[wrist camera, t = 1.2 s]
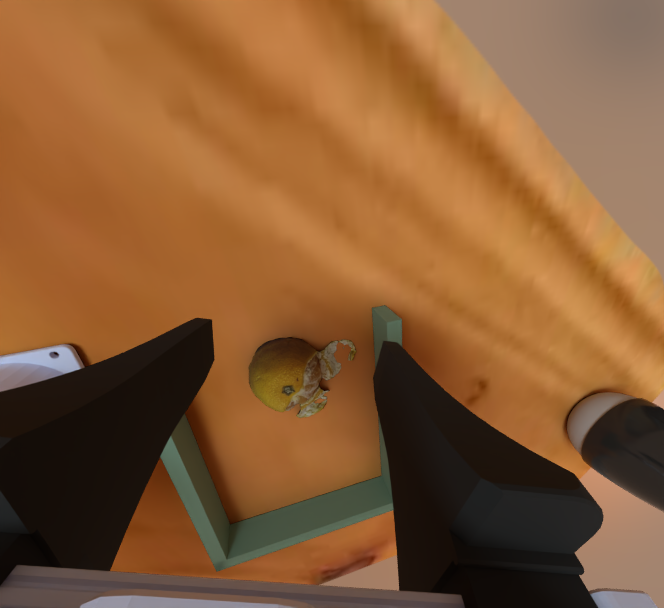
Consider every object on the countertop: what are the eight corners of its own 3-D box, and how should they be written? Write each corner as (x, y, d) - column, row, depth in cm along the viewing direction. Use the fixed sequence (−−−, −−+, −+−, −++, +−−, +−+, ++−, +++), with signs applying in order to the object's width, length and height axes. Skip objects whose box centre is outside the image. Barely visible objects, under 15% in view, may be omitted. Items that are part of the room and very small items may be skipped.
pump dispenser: (591, 368, 33) (826, 488, 19) (628, 392, 37) (846, 507, 23) (537, 431, 35) (715, 581, 21) (577, 448, 39) (751, 584, 25)
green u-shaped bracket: (221, 535, 28) (216, 571, 25) (141, 354, 20) (122, 379, 17) (391, 479, 31) (404, 506, 29) (385, 305, 23) (401, 319, 20)
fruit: (319, 415, 26) (327, 446, 23) (232, 394, 23) (227, 427, 20) (359, 342, 24) (375, 365, 21) (271, 310, 21) (273, 330, 18)
